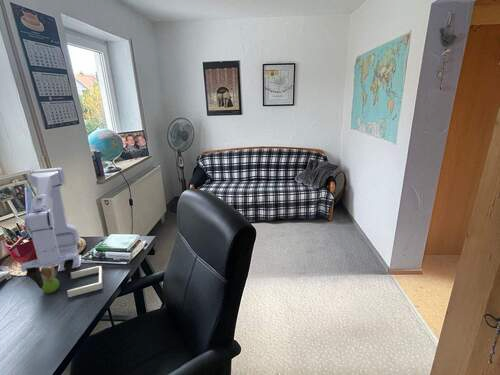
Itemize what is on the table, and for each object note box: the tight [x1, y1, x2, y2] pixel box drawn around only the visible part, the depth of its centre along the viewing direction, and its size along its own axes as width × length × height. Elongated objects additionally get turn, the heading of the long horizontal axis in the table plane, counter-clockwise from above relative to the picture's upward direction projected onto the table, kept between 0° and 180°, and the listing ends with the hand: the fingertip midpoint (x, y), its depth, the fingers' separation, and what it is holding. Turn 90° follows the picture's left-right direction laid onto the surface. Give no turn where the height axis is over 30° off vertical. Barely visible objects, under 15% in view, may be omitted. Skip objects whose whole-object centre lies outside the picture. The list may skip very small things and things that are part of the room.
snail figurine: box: [40, 264, 60, 294], centre depth 98 cm, size 5×6×12 cm
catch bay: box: [66, 265, 103, 298], centre depth 104 cm, size 13×11×2 cm
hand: (55, 282), depth 89 cm, fingers open, 7 cm apart
